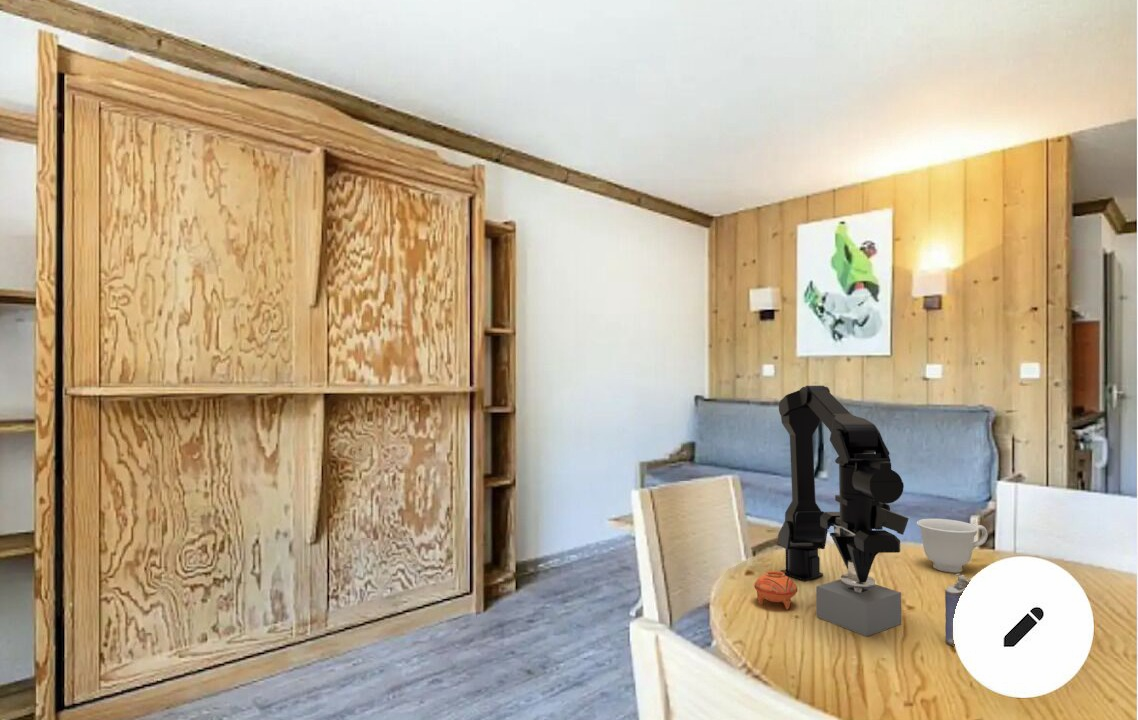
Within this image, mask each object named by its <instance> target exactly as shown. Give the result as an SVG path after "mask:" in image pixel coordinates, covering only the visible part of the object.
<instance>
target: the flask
mask: <svg viewBox="0 0 1138 720" xmlns="http://www.w3.org/2000/svg"><path fill="white" fill-rule="evenodd" d="M956 577H957V580H956V583H954V584H952V585H949V586H948V587H946V589H945V590H944V598H945V599H944V600H945V613H944V614H945V626H944V627H945V644H946V645H947V646H952V647H954V648H956V647H955V644H954V640H953V618H954V614H955V609H956V606H957V603H958V601H959V598H960V596H961V595H962V593H963V591H964V590H965V588H966V587H967V585H968V584H969V582H970V581H971V579H969V577H967V576H965V575H964V574H961V573H955V575H954V578H956Z"/></svg>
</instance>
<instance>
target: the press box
mask: <svg viewBox="0 0 1138 720" xmlns="http://www.w3.org/2000/svg"><path fill="white" fill-rule="evenodd" d="M815 591H816V592H815V593H816V594H815V598H816V602H815V604H816V618H818V619H822V620H824V621H827V622H829V623H831V624H834V625H837V626H839V627H841V628H844V629H847V630H849V631H852V632H855V633H857V634H859V635H861V636H864V637H869V636H873V635H875V634H878V633H880V632H883V631H886V630H889V629H892V628H894V627H897V626H900V625H902V592H901V591H897V590H894V589H891V588H888V587H884V586H881V585H878V584H876V583H875V586H874V587H873V588H862V592H861V593H859V592H856V591H854V587H850V586H847V585H845V584H843V583H842V582H841V578H840V579H838V580H833V581H830V582H826V583H825V582H824V583H823V584H819V585H816V586H815Z"/></svg>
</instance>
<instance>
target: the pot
mask: <svg viewBox="0 0 1138 720" xmlns="http://www.w3.org/2000/svg"><path fill="white" fill-rule="evenodd" d="M753 586H754V587H753V588H754V589H755V590H756V594H757V601H758V603H759V604H760V605H762V604H763V602H764V599H765V600H767V601H769V602H772V603H783V605H784V607H785V610H789V608H790V607H791V599H792V598H793V597H794V596H795V595H796V593H797V592H798V586H797V584H796V583H795V581H794V580H792V578H790V577H789V576H788V575H786V574H785V573H783V572H781V570H780V571H779V570H768V571H765V574H762V575H761V576H759V577H758V578H757V579H756V581H754V584H753Z"/></svg>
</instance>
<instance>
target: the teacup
mask: <svg viewBox="0 0 1138 720" xmlns="http://www.w3.org/2000/svg"><path fill="white" fill-rule="evenodd" d="M916 524H917V525H918V526H919V529H920V533H921V539H922V540H921V541H922V547H923V551H924V554H925V556H926V557H927V559H929V560H930V561H931V562H932V563H933V564H932V567H933V568H934V569H935V570H937V571H941V572H945V573H955V574H958V573H961V572H963V566H966V565H967V564H968V563H970V562H971V558H972V555H973V550H974V549H975V548H977V547H980V546H982V545H984V544H985V542H986V541H987V539H988V535H989V534H988V530H987V528H986V527H985V526H984V525H981V524H972V523H969V522H966V521H960V520H956V519H955V520H954V519H945V518H923V519H918V520H917V521H916ZM978 531H981V536H980V538H979V539H977V540H976V541H975V536H977V533H978Z"/></svg>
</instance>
